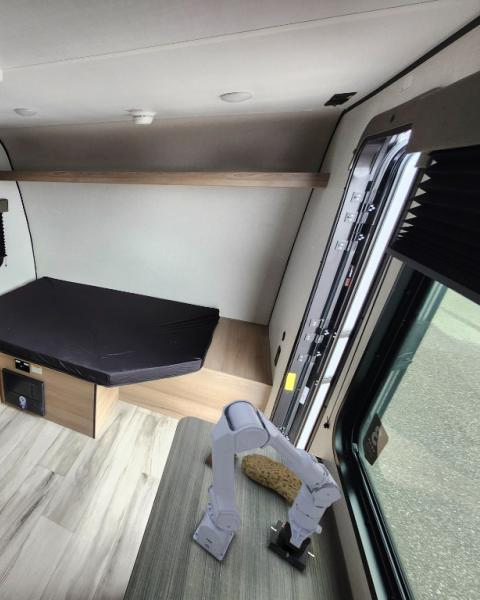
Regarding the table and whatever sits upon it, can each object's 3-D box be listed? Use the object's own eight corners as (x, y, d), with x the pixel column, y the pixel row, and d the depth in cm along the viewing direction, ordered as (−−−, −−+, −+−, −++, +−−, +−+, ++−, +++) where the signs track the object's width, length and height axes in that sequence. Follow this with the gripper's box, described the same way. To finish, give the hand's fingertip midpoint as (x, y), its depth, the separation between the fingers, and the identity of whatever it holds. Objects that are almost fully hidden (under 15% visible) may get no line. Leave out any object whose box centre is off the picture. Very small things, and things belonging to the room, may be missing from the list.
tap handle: (305, 548, 82) (309, 539, 81) (304, 552, 81) (308, 543, 80) (279, 530, 86) (283, 522, 84) (278, 534, 85) (282, 526, 83)
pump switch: (225, 476, 104) (228, 468, 103) (205, 463, 109) (207, 455, 107) (236, 458, 111) (238, 451, 110) (216, 446, 115) (218, 439, 114)
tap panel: (306, 580, 78) (310, 573, 77) (262, 548, 84) (265, 541, 83) (313, 548, 85) (317, 541, 84) (272, 520, 91) (275, 513, 90)
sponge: (313, 500, 99) (257, 447, 112) (325, 490, 94) (265, 436, 107) (288, 525, 94) (233, 466, 107) (299, 516, 89) (240, 456, 102)
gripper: (322, 542, 71) (304, 576, 76) (332, 498, 80) (314, 531, 86) (287, 519, 75) (272, 553, 80) (300, 480, 85) (285, 512, 90)
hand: (292, 540), depth 83 cm, fingers open, 3 cm apart
